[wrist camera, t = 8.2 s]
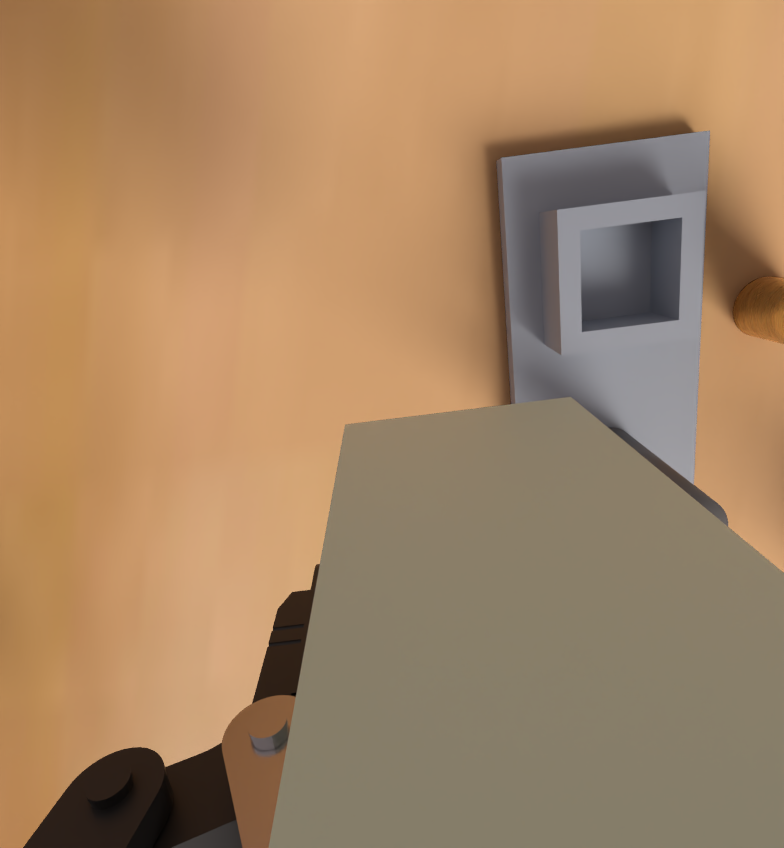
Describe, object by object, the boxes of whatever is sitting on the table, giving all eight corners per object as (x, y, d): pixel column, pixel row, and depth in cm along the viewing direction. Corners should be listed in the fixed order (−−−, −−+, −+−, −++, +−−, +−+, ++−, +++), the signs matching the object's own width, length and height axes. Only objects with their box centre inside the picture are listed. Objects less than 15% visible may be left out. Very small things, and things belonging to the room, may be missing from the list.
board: (696, 134, 28) (861, 80, 19) (681, 527, 35) (796, 637, 25) (496, 161, 29) (557, 120, 19) (519, 546, 35) (572, 663, 26)
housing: (570, 396, 14) (1274, 979, 3) (575, 590, 16) (1032, 1409, 5) (345, 424, 14) (224, 1086, 3) (374, 614, 16) (364, 1473, 5)
